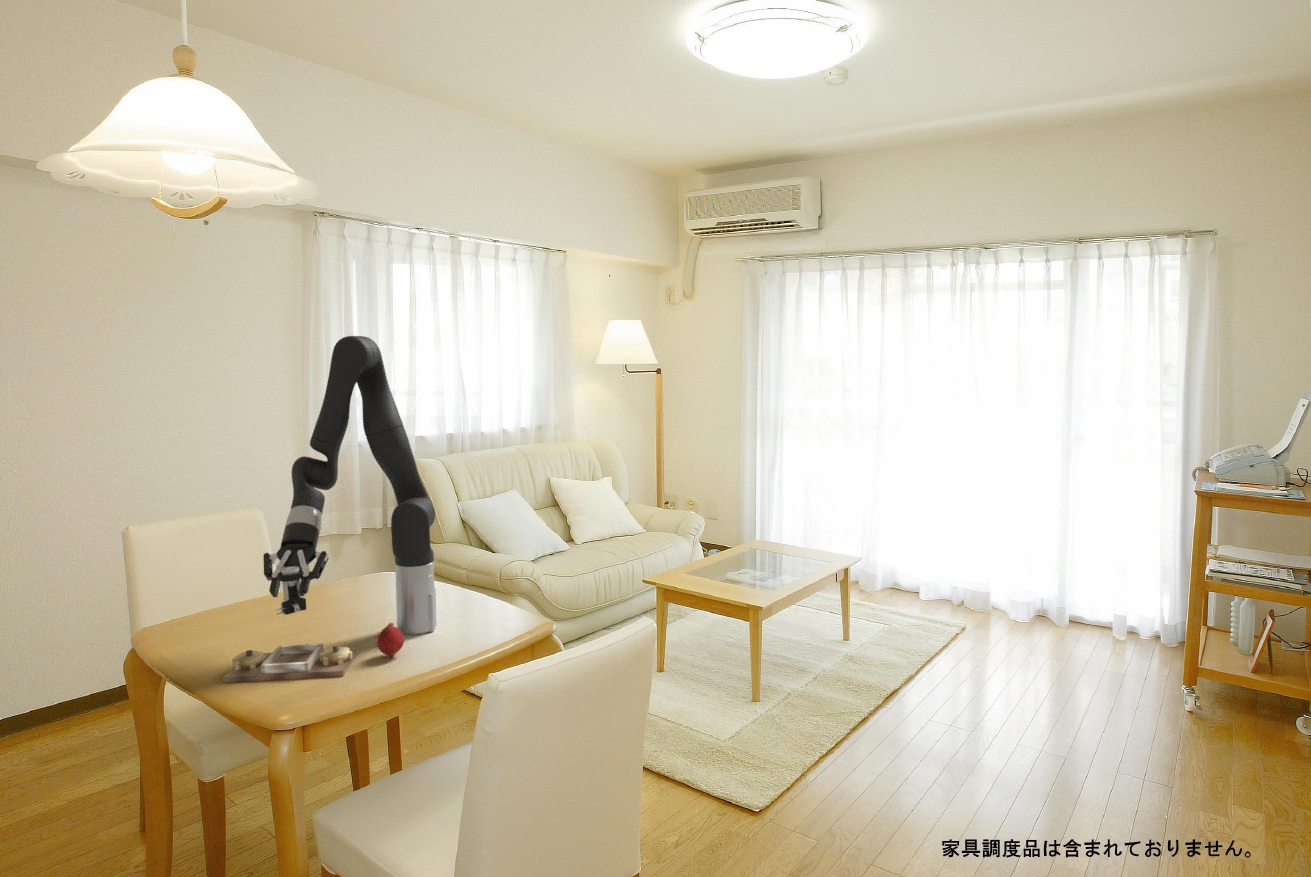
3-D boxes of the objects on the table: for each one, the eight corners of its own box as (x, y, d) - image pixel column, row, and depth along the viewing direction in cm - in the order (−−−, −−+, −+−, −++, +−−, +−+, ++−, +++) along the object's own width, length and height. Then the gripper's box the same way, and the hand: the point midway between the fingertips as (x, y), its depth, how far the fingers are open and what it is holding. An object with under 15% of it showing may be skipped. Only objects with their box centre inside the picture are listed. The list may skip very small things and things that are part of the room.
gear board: (358, 653, 177) (358, 635, 177) (345, 676, 165) (344, 657, 164) (244, 659, 174) (243, 641, 173) (221, 682, 161) (220, 663, 160)
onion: (388, 663, 172) (387, 628, 171) (372, 658, 175) (370, 623, 174) (409, 655, 177) (408, 621, 176) (392, 650, 180) (392, 616, 179)
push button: (283, 618, 167) (279, 573, 166) (270, 614, 170) (266, 570, 169) (311, 609, 173) (308, 566, 172) (298, 606, 176) (294, 563, 175)
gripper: (265, 521, 176) (247, 588, 165) (330, 520, 178) (317, 585, 167) (274, 539, 182) (258, 604, 171) (337, 537, 184) (325, 601, 173)
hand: (287, 594), depth 169 cm, fingers closed on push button, 5 cm apart
